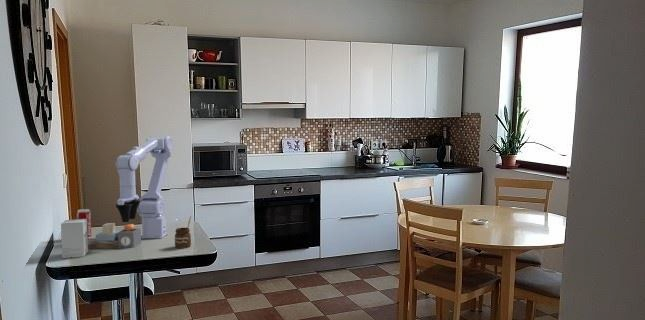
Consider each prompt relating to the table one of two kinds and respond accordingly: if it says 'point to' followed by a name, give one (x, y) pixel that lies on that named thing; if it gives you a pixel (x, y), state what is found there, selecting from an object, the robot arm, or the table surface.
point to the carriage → (108, 233)
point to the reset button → (129, 227)
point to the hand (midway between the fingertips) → (128, 220)
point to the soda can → (85, 215)
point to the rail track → (101, 243)
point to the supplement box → (74, 238)
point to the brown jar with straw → (183, 237)
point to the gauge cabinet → (129, 238)
